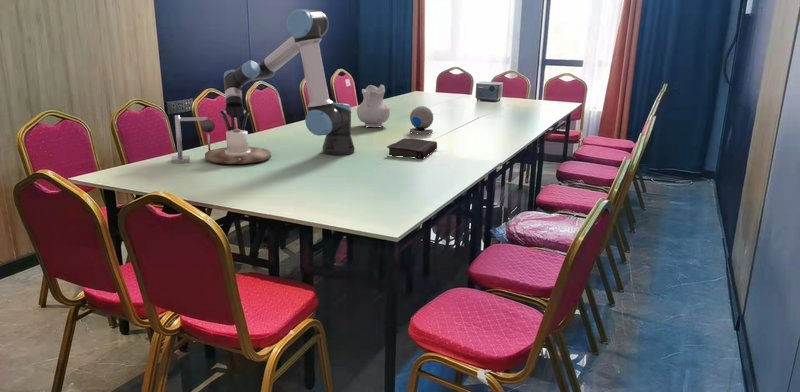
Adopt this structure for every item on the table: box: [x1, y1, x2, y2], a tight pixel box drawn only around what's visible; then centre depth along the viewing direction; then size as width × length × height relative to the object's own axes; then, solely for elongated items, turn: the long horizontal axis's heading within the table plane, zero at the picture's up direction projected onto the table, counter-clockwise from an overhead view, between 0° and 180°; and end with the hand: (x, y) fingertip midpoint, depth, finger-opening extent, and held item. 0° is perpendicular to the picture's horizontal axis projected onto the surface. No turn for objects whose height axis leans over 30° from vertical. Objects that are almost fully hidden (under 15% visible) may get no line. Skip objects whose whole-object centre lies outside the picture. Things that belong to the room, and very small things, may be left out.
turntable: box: [204, 146, 272, 165], centre depth 262 cm, size 28×28×2 cm
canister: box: [225, 128, 251, 157], centre depth 259 cm, size 11×11×11 cm
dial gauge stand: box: [171, 114, 216, 164], centre depth 255 cm, size 18×7×20 cm, turn 107°
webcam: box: [409, 105, 434, 135], centre depth 335 cm, size 13×13×15 cm
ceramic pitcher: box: [356, 84, 391, 127], centre depth 348 cm, size 22×20×25 cm
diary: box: [386, 137, 438, 159], centre depth 284 cm, size 19×25×5 cm
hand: (237, 142), depth 265 cm, fingers closed
